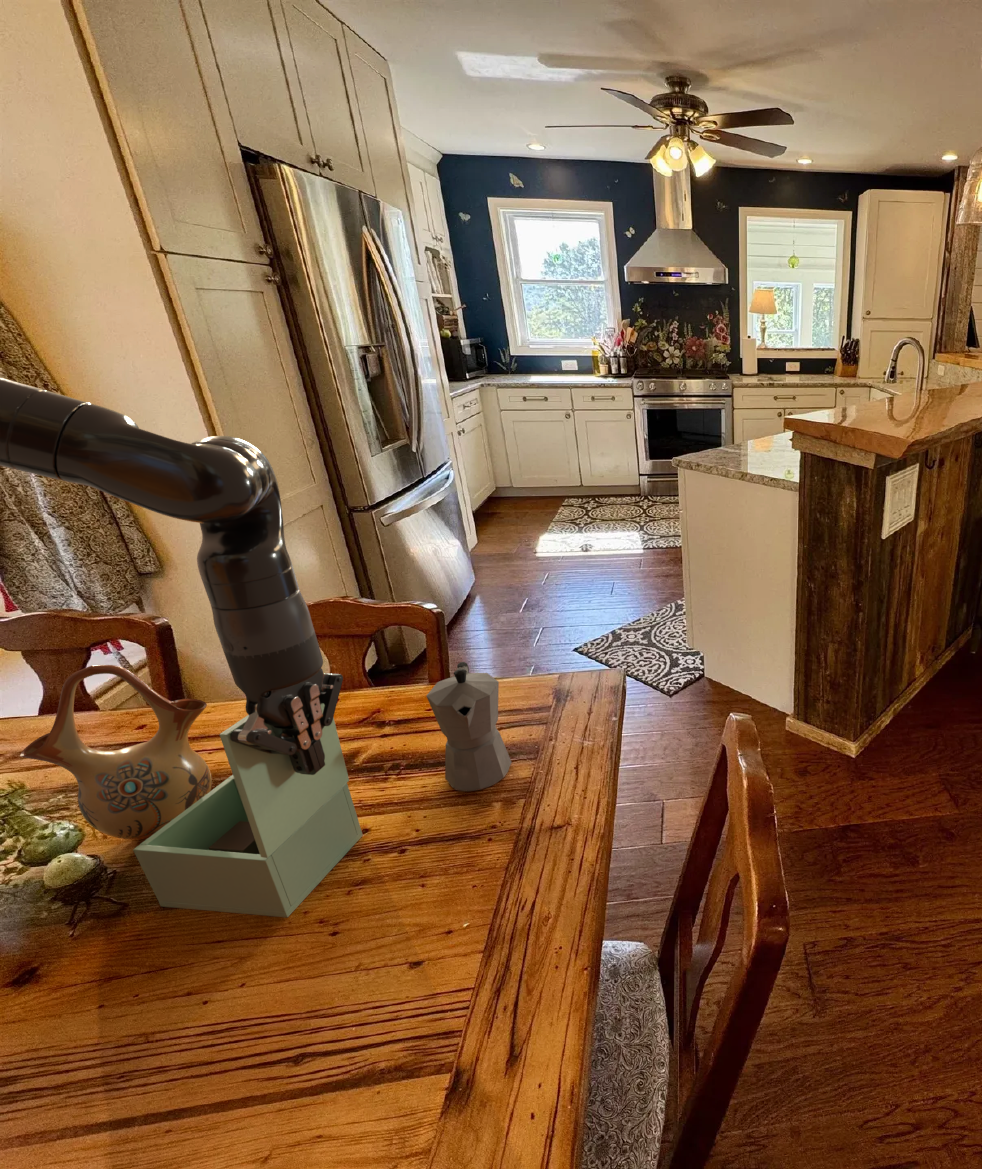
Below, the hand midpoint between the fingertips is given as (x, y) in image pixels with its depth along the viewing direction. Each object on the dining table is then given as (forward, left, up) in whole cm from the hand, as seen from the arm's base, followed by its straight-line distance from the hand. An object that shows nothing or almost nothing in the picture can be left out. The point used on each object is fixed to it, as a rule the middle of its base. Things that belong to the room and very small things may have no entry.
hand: (312, 769), depth 71 cm
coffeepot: (+6, +21, -17) cm, 27 cm away
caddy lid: (-2, 0, +1) cm, 3 cm away
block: (-12, 0, -16) cm, 20 cm away
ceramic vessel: (-29, +5, -17) cm, 34 cm away
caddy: (-10, 0, -16) cm, 19 cm away
